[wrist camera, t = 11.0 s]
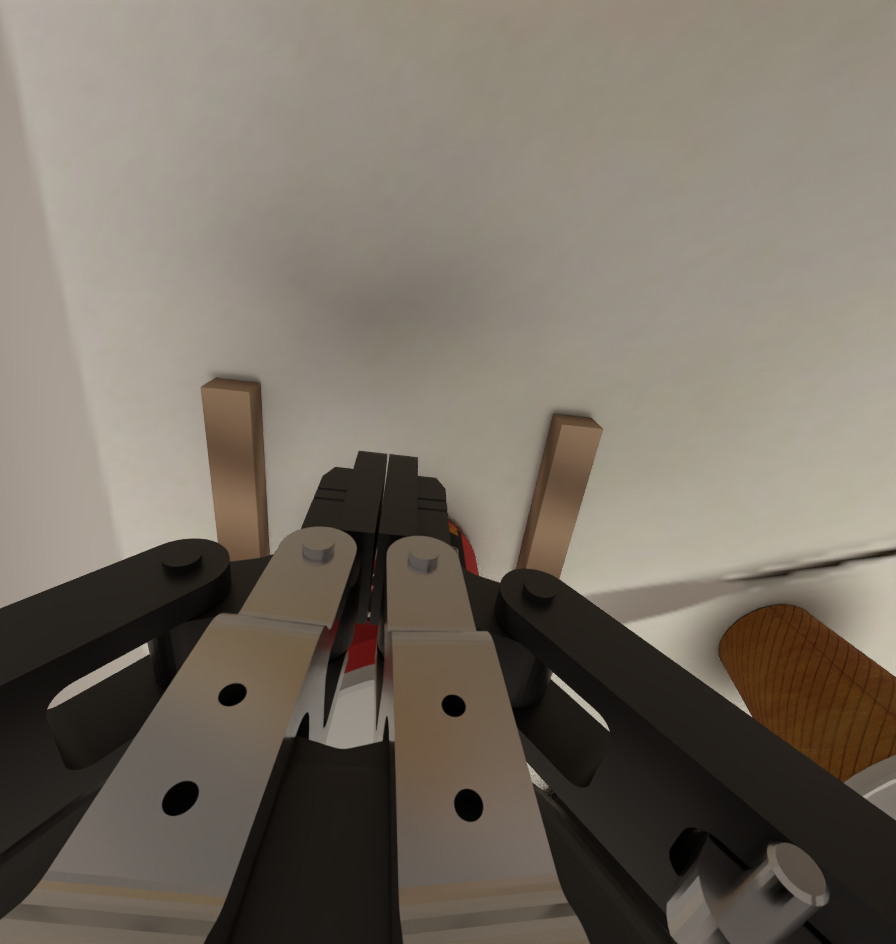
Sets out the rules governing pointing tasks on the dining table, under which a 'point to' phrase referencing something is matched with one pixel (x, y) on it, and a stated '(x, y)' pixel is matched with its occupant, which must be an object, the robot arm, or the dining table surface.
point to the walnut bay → (244, 487)
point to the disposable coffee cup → (818, 696)
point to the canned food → (372, 669)
